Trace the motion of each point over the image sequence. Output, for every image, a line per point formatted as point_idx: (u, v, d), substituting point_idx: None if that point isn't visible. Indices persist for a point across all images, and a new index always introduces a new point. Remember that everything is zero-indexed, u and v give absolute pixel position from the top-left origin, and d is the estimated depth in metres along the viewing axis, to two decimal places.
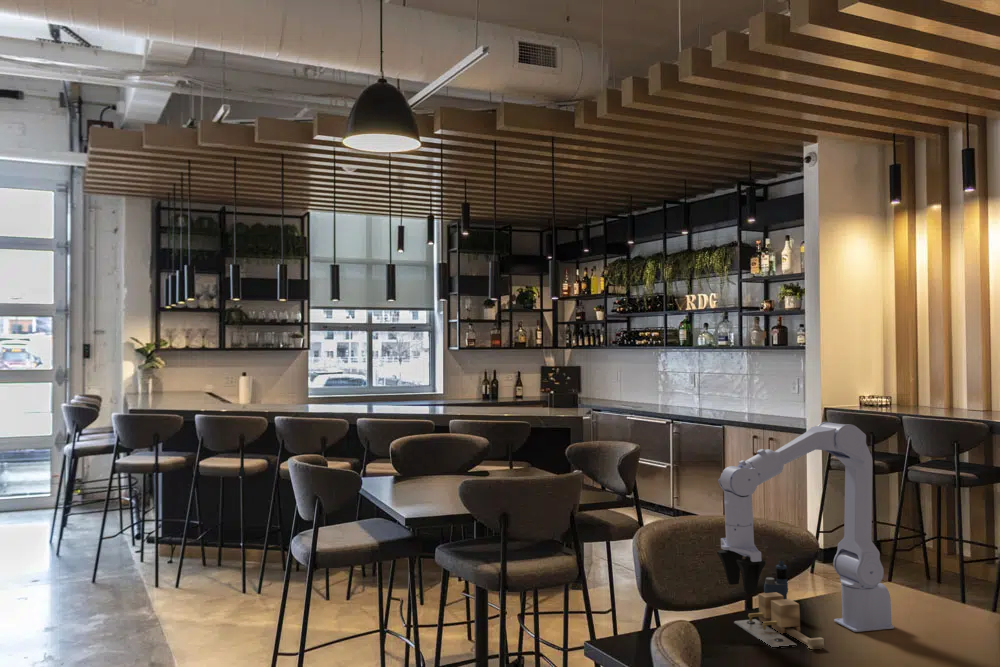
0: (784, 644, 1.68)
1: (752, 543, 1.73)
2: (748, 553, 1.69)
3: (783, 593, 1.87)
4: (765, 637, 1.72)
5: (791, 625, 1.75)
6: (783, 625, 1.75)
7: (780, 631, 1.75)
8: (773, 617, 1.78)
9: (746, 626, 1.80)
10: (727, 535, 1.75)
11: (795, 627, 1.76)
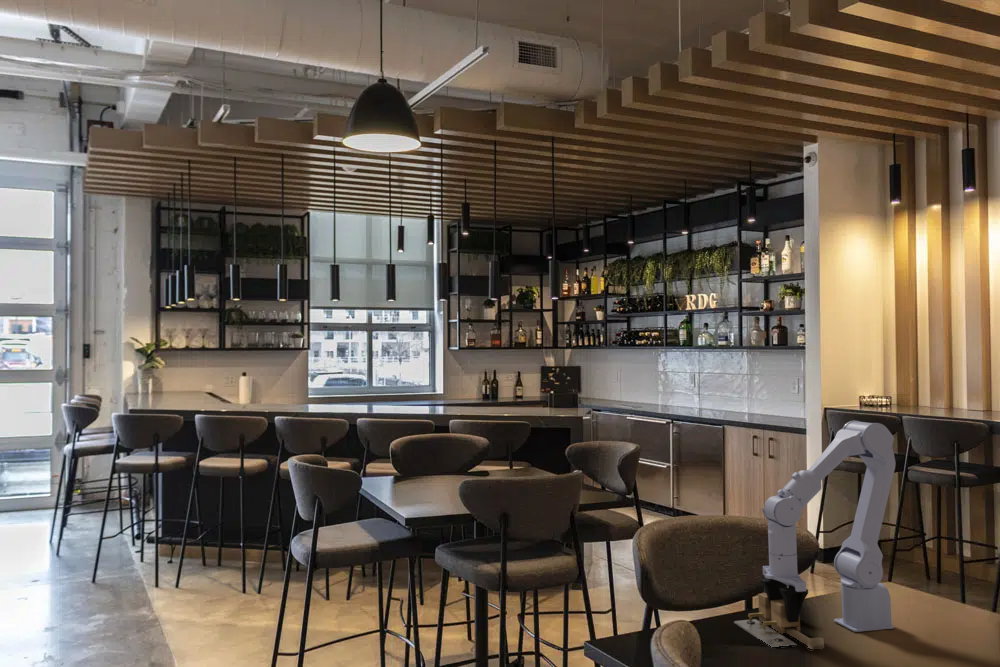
0: (784, 644, 1.68)
1: (796, 572, 1.76)
2: (793, 583, 1.72)
3: None
4: (765, 637, 1.72)
5: (791, 625, 1.75)
6: (783, 625, 1.75)
7: (780, 631, 1.75)
8: (773, 617, 1.78)
9: (746, 626, 1.80)
10: (771, 564, 1.77)
11: (795, 627, 1.76)
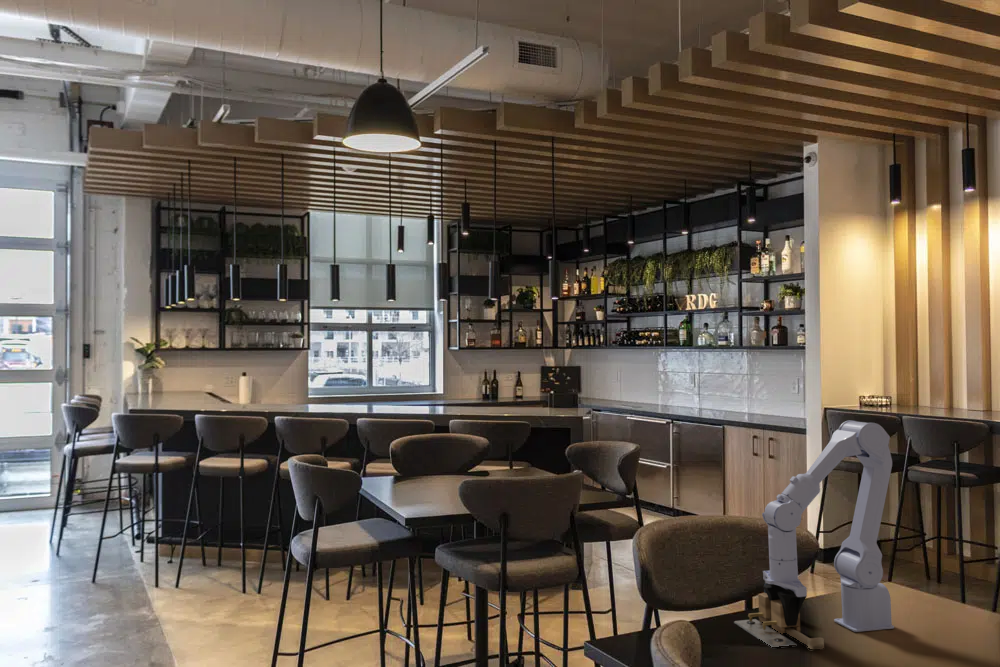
0: (784, 644, 1.68)
1: (796, 577, 1.76)
2: (793, 588, 1.71)
3: None
4: (765, 637, 1.72)
5: None
6: (783, 625, 1.75)
7: (780, 631, 1.75)
8: (773, 617, 1.78)
9: (746, 626, 1.80)
10: (771, 569, 1.77)
11: (795, 627, 1.76)
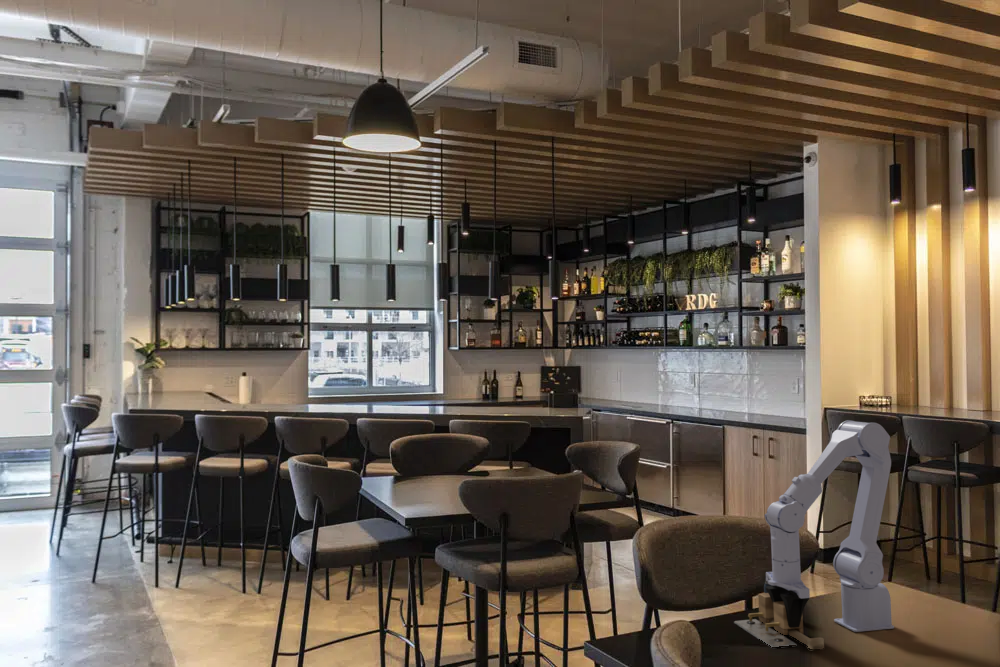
0: (784, 644, 1.68)
1: (799, 578, 1.74)
2: (796, 589, 1.70)
3: None
4: (765, 637, 1.72)
5: None
6: (786, 627, 1.74)
7: (783, 633, 1.74)
8: (776, 619, 1.77)
9: (746, 626, 1.80)
10: (774, 570, 1.76)
11: (798, 629, 1.75)
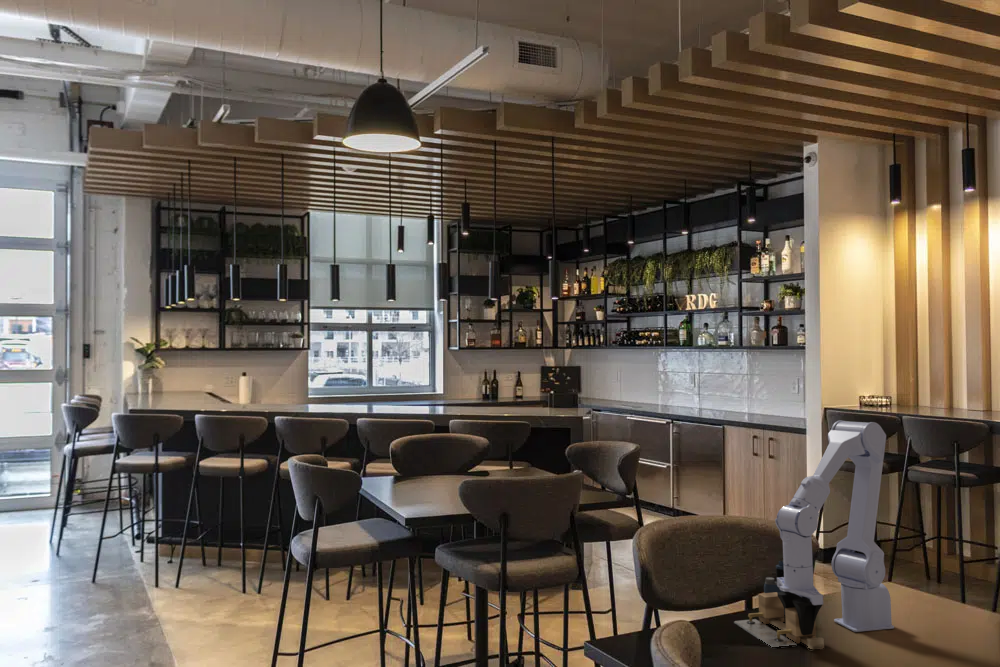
0: (784, 644, 1.68)
1: (812, 584, 1.70)
2: (809, 596, 1.66)
3: None
4: (765, 637, 1.72)
5: None
6: (798, 634, 1.69)
7: (795, 640, 1.69)
8: (788, 626, 1.72)
9: (746, 626, 1.80)
10: (786, 576, 1.71)
11: (811, 636, 1.70)
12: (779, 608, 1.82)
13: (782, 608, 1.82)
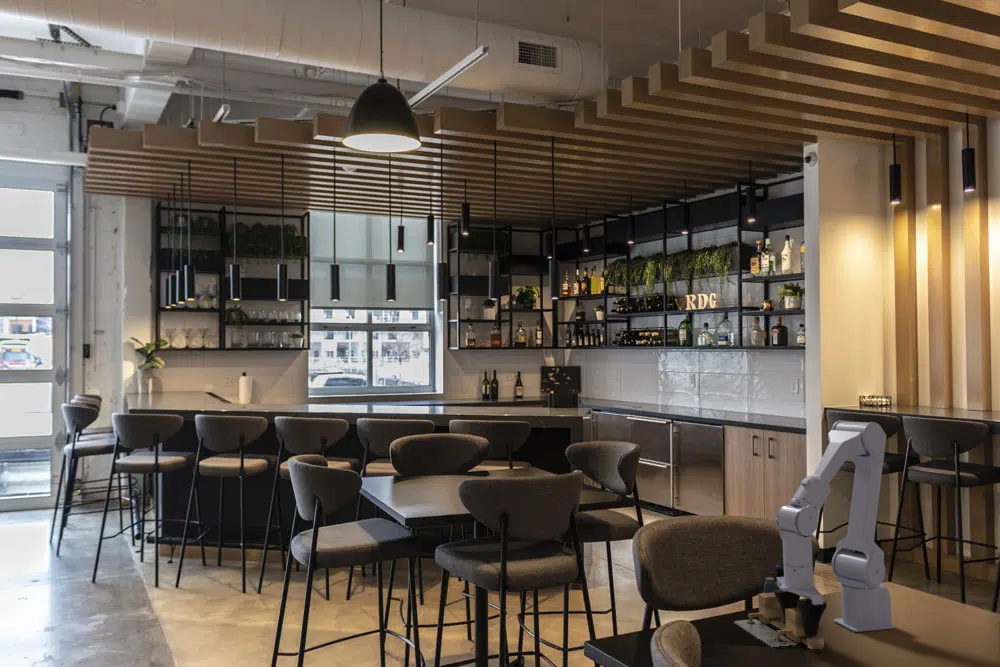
0: (784, 644, 1.68)
1: (812, 584, 1.70)
2: (809, 595, 1.66)
3: None
4: (765, 637, 1.72)
5: None
6: (798, 634, 1.69)
7: (795, 640, 1.69)
8: (788, 626, 1.72)
9: (746, 626, 1.80)
10: (786, 575, 1.71)
11: None
12: (779, 608, 1.82)
13: None
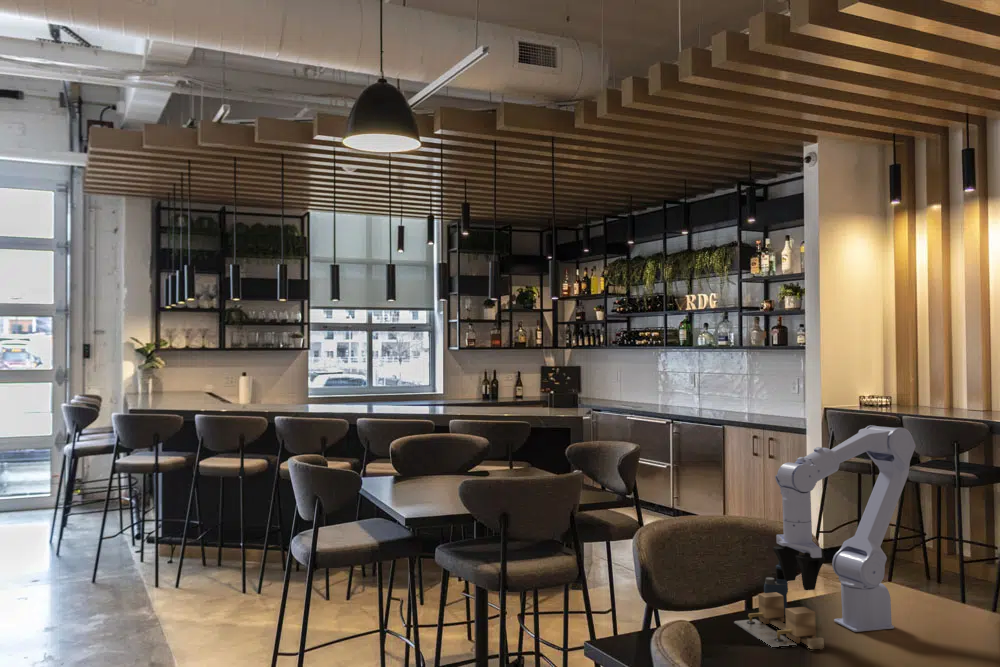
0: (784, 644, 1.68)
1: (810, 539, 1.73)
2: (808, 549, 1.69)
3: (783, 593, 1.87)
4: (765, 637, 1.72)
5: (806, 634, 1.69)
6: (798, 634, 1.69)
7: (795, 640, 1.69)
8: (788, 626, 1.72)
9: (746, 626, 1.80)
10: (785, 531, 1.75)
11: (811, 636, 1.70)
12: (779, 608, 1.82)
13: (782, 608, 1.82)
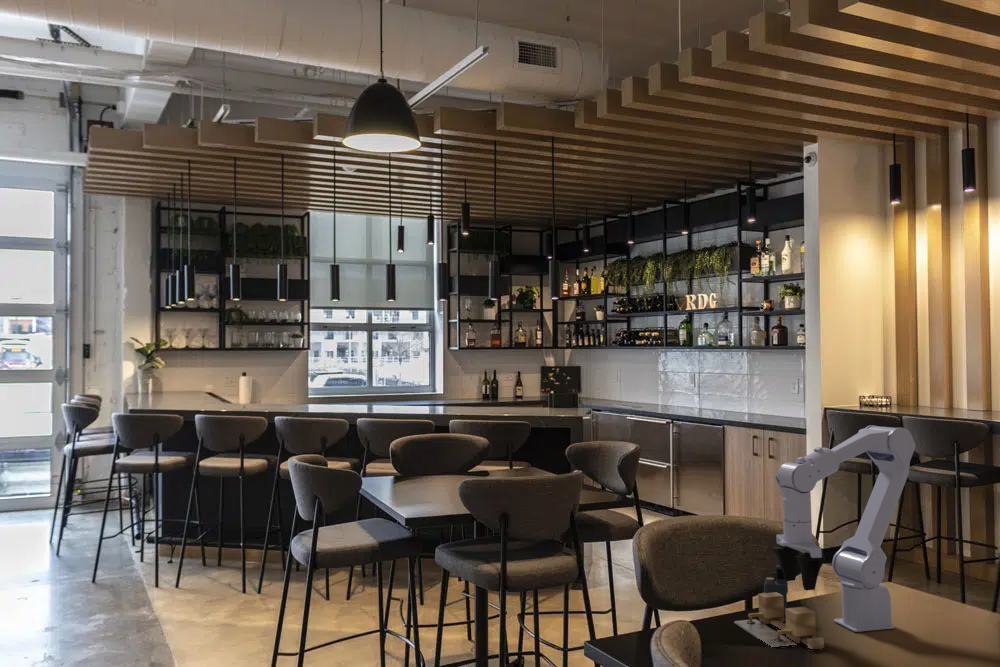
0: (784, 644, 1.68)
1: (810, 539, 1.73)
2: (808, 549, 1.69)
3: (783, 593, 1.87)
4: (765, 637, 1.72)
5: (806, 634, 1.69)
6: (798, 634, 1.69)
7: (795, 640, 1.69)
8: (788, 626, 1.72)
9: (746, 626, 1.80)
10: (785, 531, 1.75)
11: (811, 636, 1.70)
12: (779, 608, 1.82)
13: (782, 608, 1.82)
